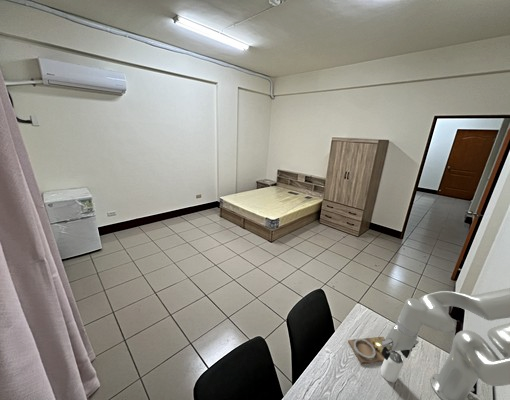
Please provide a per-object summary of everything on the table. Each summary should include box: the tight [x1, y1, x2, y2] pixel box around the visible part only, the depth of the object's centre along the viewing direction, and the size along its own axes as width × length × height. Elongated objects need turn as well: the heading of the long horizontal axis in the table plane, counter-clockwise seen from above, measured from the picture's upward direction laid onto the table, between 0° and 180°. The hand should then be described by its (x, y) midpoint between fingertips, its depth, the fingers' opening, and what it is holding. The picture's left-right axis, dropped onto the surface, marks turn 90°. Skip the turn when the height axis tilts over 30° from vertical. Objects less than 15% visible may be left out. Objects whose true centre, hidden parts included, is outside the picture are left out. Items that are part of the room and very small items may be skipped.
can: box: [379, 351, 404, 383], centre depth 95 cm, size 6×6×12 cm
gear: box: [372, 336, 390, 355], centre depth 107 cm, size 9×9×4 cm
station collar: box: [353, 338, 376, 360], centre depth 106 cm, size 10×10×1 cm
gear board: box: [348, 336, 394, 365], centre depth 107 cm, size 20×11×2 cm, turn 99°
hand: (394, 355), depth 93 cm, fingers open, 9 cm apart
